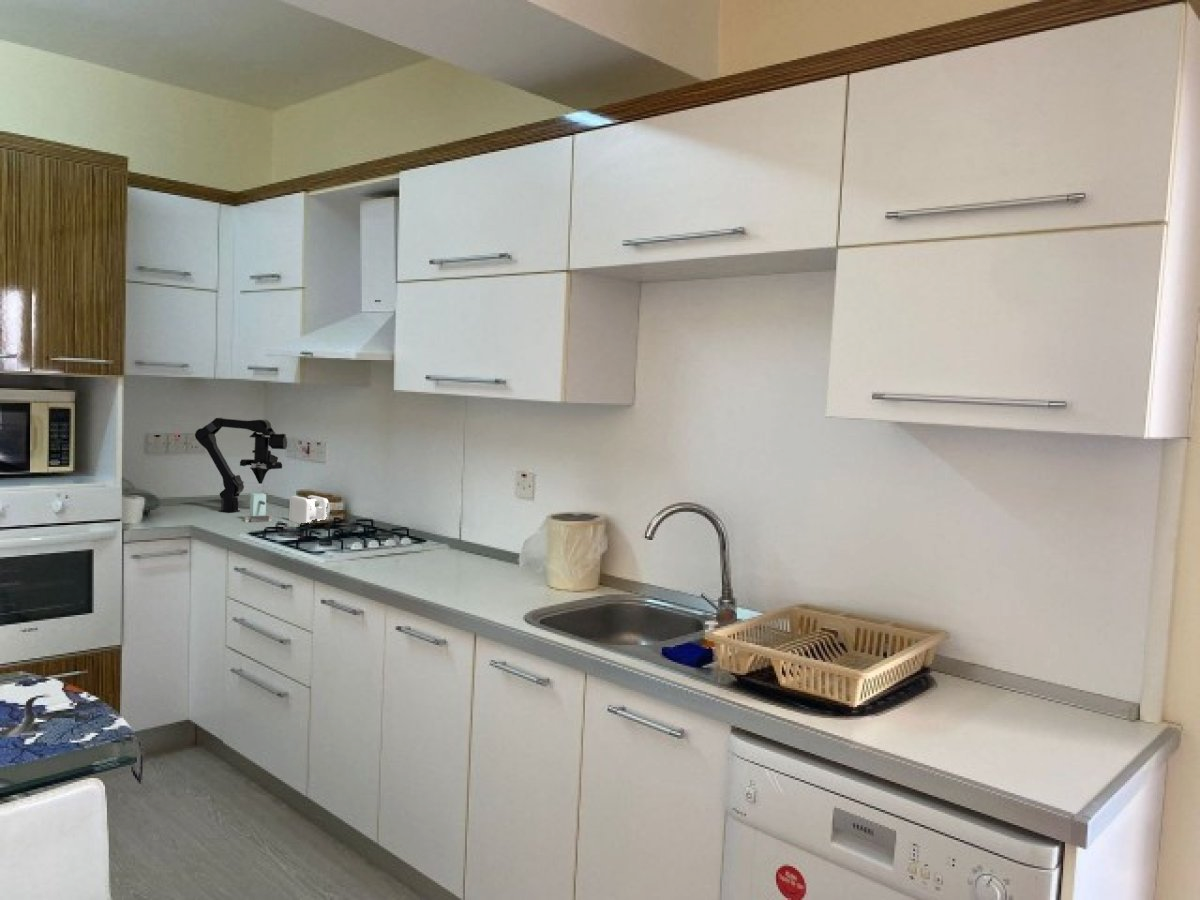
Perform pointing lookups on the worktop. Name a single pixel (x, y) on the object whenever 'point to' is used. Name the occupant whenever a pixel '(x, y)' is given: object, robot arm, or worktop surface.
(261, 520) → the comb rail
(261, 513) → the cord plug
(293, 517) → the cable organizer
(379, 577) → the worktop surface
